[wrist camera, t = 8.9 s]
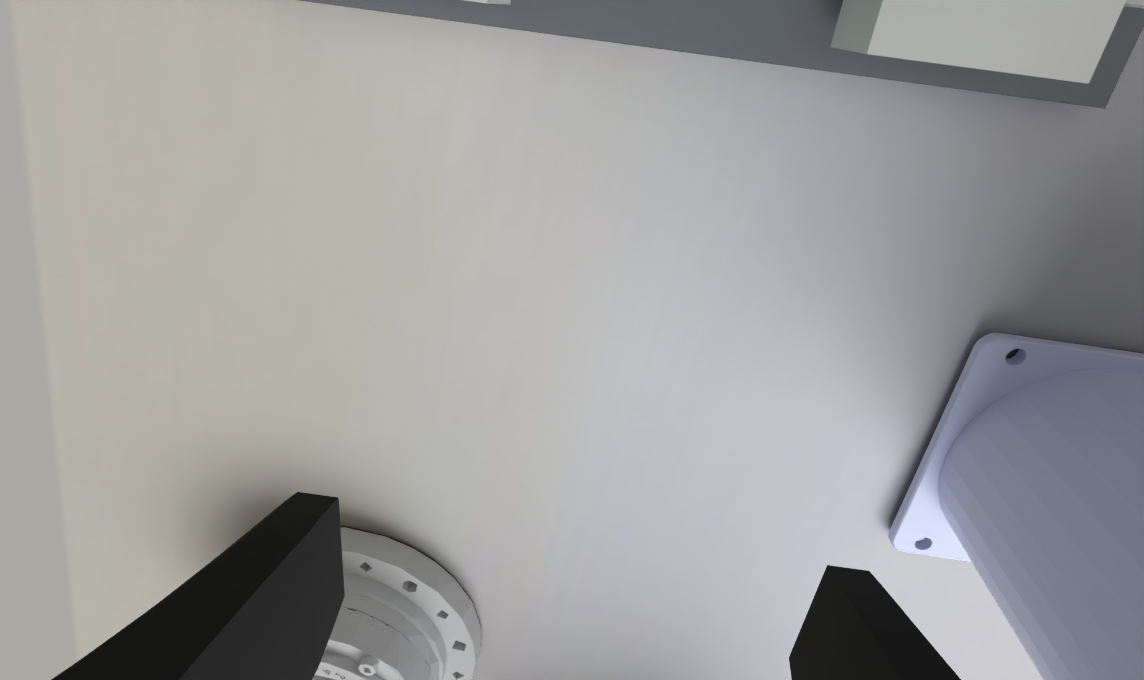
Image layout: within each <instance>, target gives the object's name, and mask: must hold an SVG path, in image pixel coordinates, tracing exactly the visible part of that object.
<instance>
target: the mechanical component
mask: <svg viewBox="0 0 1144 680" xmlns="http://www.w3.org/2000/svg"><path fill="white" fill-rule="evenodd" d="M340 529H341V545H342V560H343V576H344V591H345V597H344V599H343V602H342V605H341V608H340V611H339V613H338V616H337V619H336V622H335V625H334V627H333V630H332V633H331V636H330V638H329V641H328V643H327V646H326V649H325V651H324V654H323V657H322V659H321V662H320V665H319V667H318V669H317V671H316V673H315V675H314V677H313V679H312V680H472V678H473V674H474V671H475V667H476V663H477V659H478V656H479V652H480V648H481V627H480V624H479V621H478V618H477V615H476V611H475V608H474V605H473V603H472V601H471V600H470V599H469V597H468V596H467V594H466V593H465V592H464V590H463V589H462V588H461V586H460V585H459V584H458V582H457V581H456V580H455V579H454V578H453V577H452V576H451V575H450V574H449V573H447V572H446V571H445V570H444V569H443V568H442V567H441V566H440V565H438V564H437V563H436V562H434V561H433V560H431V559H430V558H428V557H426V556H425V555H423V554H422V553H420V552H418V551H417V550H415V549H414V548H411V547H409V546H407V545H404V544H402V543H400V542H397V541H395V540H392V539H390V538H388V537H385V536H381V535H376V534H372V533H368V532H363V531H359V530H355V529H350V528H346V527H340Z"/></svg>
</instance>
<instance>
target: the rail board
mask: <svg viewBox="0 0 1144 680" xmlns="http://www.w3.org/2000/svg"><path fill="white" fill-rule="evenodd" d="M300 1H308V2H315V3H323V4H330V5H337V6H345V7H352V8H360V9H367V10H375V11H382V12H390V13H397V14H405V15H412V16H419V17H427V18H434V19H442V20H449V21H457V22H464V23H472V24H479V25H487V26H494V27H501V28H509V29H516V30H524V31H531V32H539V33H546V34H554V35H561V36H568V37H576V38H583V39H591V40H598V41H606V42H613V43H621V44H628V45H636V46H643V47H650V48H658V49H665V50H673V51H680V52H688V53H695V54H703V55H710V56H718V57H725V58H732V59H740V60H747V61H755V62H762V63H770V64H777V65H785V66H792V67H800V68H807V69H814V70H822V71H829V72H837V73H844V74H852V75H859V76H867V77H874V78H882V79H889V80H896V81H904V82H911V83H919V84H926V85H934V86H941V87H949V88H956V89H964V90H971V91H978V92H986V93H993V94H1001V95H1008V96H1016V97H1023V98H1031V99H1038V100H1046V101H1053V102H1060V103H1068V104H1075V105H1083V106H1090V107H1098V108H1105V107H1106V105H1107V103H1108V101H1109V98H1110V96H1111V94H1112V92H1113V90H1114V88H1115V86H1116V84H1117V81H1118V79H1119V77H1120V75H1121V73H1122V71H1123V69H1124V67H1125V64H1126V62H1127V60H1128V58H1129V56H1130V54H1131V52H1132V50H1133V48H1134V45H1135V43H1136V41H1137V39H1138V37H1139V35H1140V33H1141V31H1142V28H1143V26H1144V0H300Z"/></svg>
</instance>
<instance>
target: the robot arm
mask: <svg viewBox="0 0 1144 680" xmlns="http://www.w3.org/2000/svg"><path fill="white" fill-rule="evenodd" d="M1014 349H1019V351H1018V353H1017V354H1016V355H1015V356H1013V357H1011V358H1007V359H1006V355H1007V354H1008V353H1009V352H1010V351H1012V350H1014ZM888 537H889V539H890V542H891V544H892V546H893V547H894V548H895V549H896V550H899V551H902V552H908V553H914V554H921V555H928V556H934V557H941V558H947V559H954V560H960V561H967V562H972V563H973V565H974V566H975V568H976V570H977V571H978V573H979V575H980V576H981V578H982V580H983V581H984V583H985V584H986V586H987V588H988V589H989V591H990V593H991V594H992V596H993V598H994V599H995V601H996V603H997V604H998V606H999V607H1000V609H1001V611H1002V612H1003V614H1004V616H1005V617H1006V619H1007V621H1008V622H1009V624H1010V626H1011V627H1012V629H1013V630H1014V632H1015V634H1016V635H1017V637H1018V639H1019V640H1020V642H1021V644H1022V645H1023V647H1024V648H1025V650H1026V652H1027V653H1028V655H1029V657H1030V658H1031V660H1032V662H1033V663H1034V665H1035V667H1036V668H1037V670H1038V671H1039V673H1040V675H1041V676H1042V678H1043V680H1144V354H1143V353H1136V352H1129V351H1122V350H1115V349H1108V348H1101V347H1094V346H1087V345H1080V344H1073V343H1066V342H1059V341H1052V340H1045V339H1038V338H1031V337H1024V336H1017V335H1010V334H1003V333H991V334H988V335H985V336H983V337H982V338H980V339H979V340H978V341H977V342H976V344H975V345H974V347H973V349H972V351H971V353H970V356H969V358H968V360H967V362H966V364H965V366H964V369H963V371H962V373H961V375H960V377H959V380H958V382H957V384H956V386H955V388H954V391H953V393H952V395H951V397H950V399H949V401H948V404H947V406H946V408H945V410H944V412H943V415H942V417H941V419H940V421H939V423H938V426H937V428H936V430H935V432H934V434H933V437H932V439H931V441H930V443H929V445H928V447H927V450H926V452H925V454H924V456H923V458H922V461H921V463H920V465H919V467H918V469H917V472H916V474H915V476H914V478H913V480H912V482H911V485H910V487H909V489H908V491H907V493H906V496H905V498H904V500H903V502H902V504H901V507H900V509H899V511H898V513H897V515H896V517H895V520H894V522H893V524H892V526H891V528H890V531H889V535H888ZM921 538H925V539H924V540H921V541H917V540H918V539H921ZM344 597H345V591H344V576H343V560H342V545H341V529H340V514H339V498H337V497H329V496H322V495H315V494H308V493H300V492H297V493H296V494H294V495H293V496H291V497H290V498H289V499H288V500H286V501H285V502H284V503H283V504H281V505H280V506H279V507H278V508H276V509H275V510H274V511H273V512H271V513H270V514H269V515H268V516H267V517H265V518H264V519H263V520H262V521H261V522H259V523H258V524H257V525H256V526H254V527H253V528H252V529H251V530H250V531H248V532H247V533H246V534H245V535H244V536H242V537H241V538H240V539H239V540H237V541H236V542H235V543H234V544H232V545H231V546H230V547H229V548H228V549H226V550H225V551H224V552H223V553H221V554H220V555H219V556H218V557H216V558H215V559H214V560H213V561H211V562H210V563H209V564H208V565H206V566H205V567H204V568H203V569H201V570H200V571H199V572H197V573H196V574H195V575H194V576H192V577H191V578H190V579H188V580H187V581H186V582H185V583H183V584H182V585H181V586H180V587H178V588H177V589H176V590H174V591H173V592H172V593H171V594H169V595H168V596H167V597H165V598H164V599H163V600H162V601H160V602H159V603H158V604H156V605H155V606H154V607H152V608H151V609H150V610H148V611H147V612H146V613H144V614H143V615H142V616H140V617H139V618H137V619H136V620H135V621H133V622H132V623H131V624H129V625H128V626H126V627H125V628H124V629H122V630H121V631H120V632H118V633H117V634H115V635H114V636H113V637H111V638H110V639H108V640H107V641H106V642H104V643H103V644H102V645H100V646H99V647H97V648H96V649H95V650H93V651H92V652H90V653H89V654H88V655H86V656H85V657H84V658H82V659H81V660H79V661H78V662H76V663H75V664H74V665H72V666H71V667H69V668H68V669H66V670H65V671H63V672H62V673H60V674H59V675H58V676H56V677H55V678H53V679H52V680H312V679H313V677H314V675H315V673H316V671H317V669H318V667H319V665H320V662H321V659H322V657H323V654H324V651H325V649H326V646H327V643H328V641H329V638H330V636H331V633H332V630H333V627H334V625H335V622H336V619H337V616H338V613H339V611H340V608H341V605H342V602H343V599H344ZM789 661H790V669H791V676H792V680H961V679H960V678H959V677H958V676H957V675H956V673H955V672H954V671H953V670H952V669H951V668H950V666H949V665H948V664H947V663H946V662H945V660H944V659H943V658H942V657H941V656H940V655H939V653H938V652H937V651H936V650H935V649H934V647H933V646H932V645H931V644H930V643H929V641H928V640H927V639H926V638H925V637H924V635H923V634H922V633H921V632H920V631H919V629H918V628H917V627H916V626H915V625H914V623H913V622H912V621H911V620H910V619H909V617H908V616H907V615H906V614H905V613H904V611H903V610H902V609H901V608H900V607H899V605H898V604H897V603H896V602H895V601H894V599H893V598H892V597H891V596H890V595H889V594H888V592H887V591H886V590H885V589H884V588H883V586H882V585H881V584H880V583H879V582H878V581H877V580H876V578H875V577H874V576H873V575H872V574H871V573H870V572H869V571H865V570H857V569H850V568H843V567H836V566H829V565H827V567H826V570H825V572H824V575H823V577H822V579H821V582H820V584H819V587H818V589H817V591H816V594H815V596H814V599H813V601H812V604H811V606H810V608H809V611H808V613H807V616H806V618H805V620H804V623H803V625H802V628H801V630H800V632H799V635H798V637H797V640H796V642H795V644H794V647H793V649H792V652H791V654H790V657H789Z"/></svg>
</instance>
